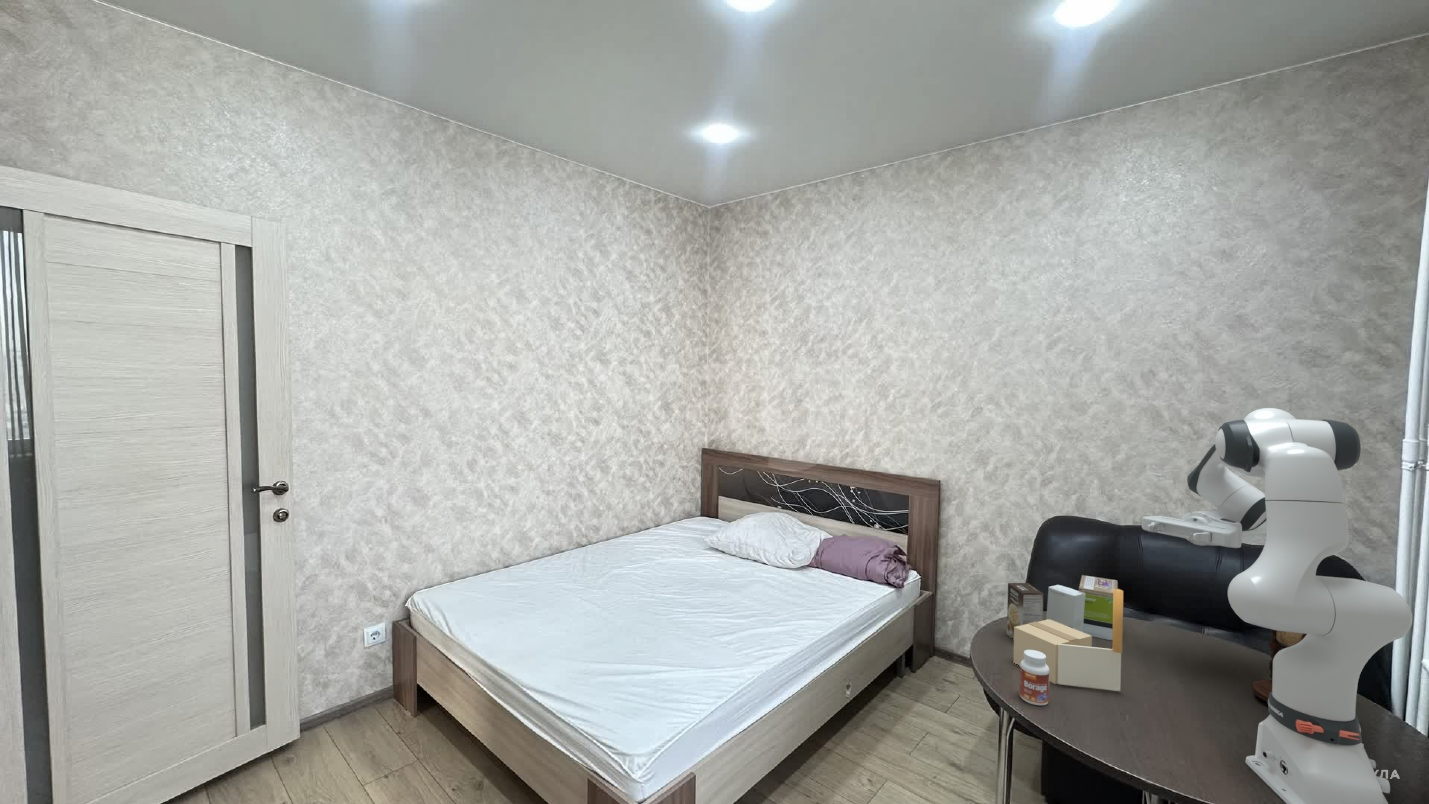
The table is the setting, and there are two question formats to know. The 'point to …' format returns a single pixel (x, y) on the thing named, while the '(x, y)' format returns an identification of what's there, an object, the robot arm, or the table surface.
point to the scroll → (1286, 638)
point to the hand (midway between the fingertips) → (1170, 532)
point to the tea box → (1098, 606)
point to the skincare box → (1066, 606)
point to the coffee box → (1023, 606)
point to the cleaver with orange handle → (1094, 658)
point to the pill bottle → (1034, 678)
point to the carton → (1047, 642)
